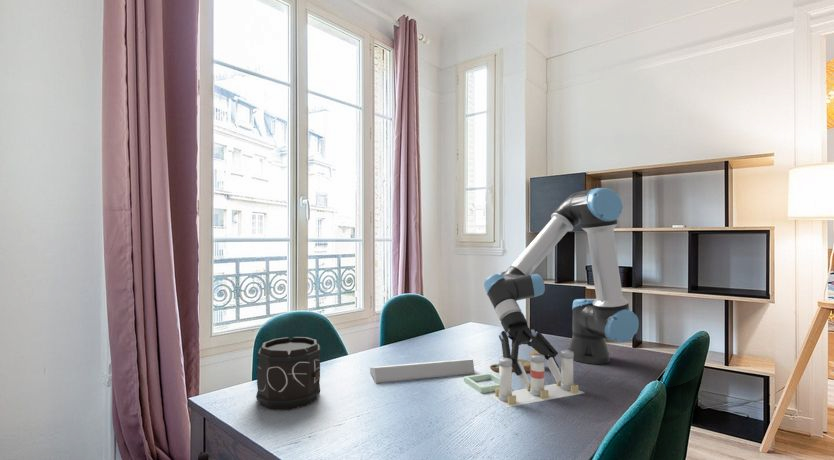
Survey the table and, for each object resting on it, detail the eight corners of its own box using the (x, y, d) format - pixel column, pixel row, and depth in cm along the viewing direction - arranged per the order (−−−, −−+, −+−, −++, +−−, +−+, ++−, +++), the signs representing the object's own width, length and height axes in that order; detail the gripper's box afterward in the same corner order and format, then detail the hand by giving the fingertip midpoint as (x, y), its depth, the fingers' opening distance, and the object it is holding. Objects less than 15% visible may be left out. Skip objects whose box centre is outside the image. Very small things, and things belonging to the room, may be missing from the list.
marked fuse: (538, 390, 119) (538, 353, 119) (547, 395, 115) (547, 356, 115) (527, 392, 117) (527, 354, 118) (536, 397, 114) (536, 358, 114)
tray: (490, 382, 130) (490, 372, 130) (509, 393, 120) (509, 383, 120) (463, 386, 126) (463, 376, 126) (480, 398, 116) (480, 387, 117)
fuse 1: (507, 396, 114) (507, 357, 115) (514, 400, 111) (514, 360, 111) (496, 397, 113) (496, 358, 113) (503, 402, 110) (503, 362, 110)
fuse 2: (567, 385, 123) (567, 349, 123) (576, 390, 120) (576, 352, 120) (558, 387, 121) (558, 350, 122) (566, 391, 118) (566, 353, 118)
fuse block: (562, 387, 126) (562, 376, 126) (585, 398, 117) (585, 386, 117) (488, 400, 115) (488, 387, 115) (507, 412, 107) (507, 399, 107)
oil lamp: (552, 374, 138) (552, 345, 138) (495, 379, 132) (495, 349, 132) (538, 366, 146) (539, 339, 146) (484, 371, 141) (484, 342, 141)
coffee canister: (296, 417, 103) (297, 355, 104) (241, 406, 110) (242, 348, 110) (334, 392, 120) (335, 339, 121) (284, 383, 126) (285, 333, 127)
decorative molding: (370, 382, 137) (375, 383, 128) (369, 367, 138) (375, 367, 129) (463, 373, 147) (474, 374, 137) (462, 359, 148) (473, 359, 139)
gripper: (535, 321, 135) (569, 383, 121) (475, 326, 126) (504, 394, 112) (546, 308, 130) (582, 371, 116) (484, 312, 122) (515, 381, 107)
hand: (544, 382), depth 114 cm, fingers open, 11 cm apart
